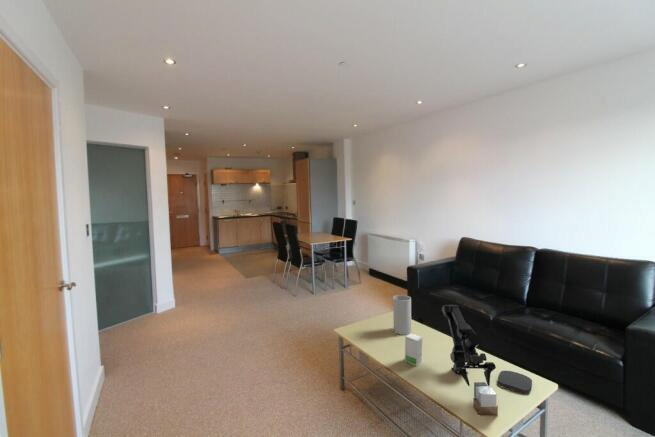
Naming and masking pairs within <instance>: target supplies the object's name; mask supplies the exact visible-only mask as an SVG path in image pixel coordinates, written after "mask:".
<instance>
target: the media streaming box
mask: <svg viewBox="0 0 655 437" xmlns="http://www.w3.org/2000/svg"><path fill="white" fill-rule="evenodd" d="M497 384H498V386H499V387H502V388H504V389H507V390H510V391H513V392H516V393H520V394H524V395H526V394H527V395H528V394H530V393H531V391H532V387H533V380H532V379H531V377H529V376H527V375H525V374H523V373H519V372H515V371H511V370H501V371H500V372H499V374H498V377H497Z"/></svg>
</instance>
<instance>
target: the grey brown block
mask: <svg viewBox="0 0 655 437" xmlns="http://www.w3.org/2000/svg"><path fill="white" fill-rule="evenodd" d="M472 400H473V401H472V404H473V405H472V406H473V407H472V408H473V410H474V411H475V412H476V414H477V416H478V415H480V417H481V416H482V417H485V416H487V417H488V416H489V417H491V416H492V417H498V416H499V415H498V414H499V412H498V411H499V410H498V409H499V406H498V405H497V393H496V392H495V391H494V389H493V388H492V387H491V386H488V385H487V386H476V398H475V397H473V398H472Z"/></svg>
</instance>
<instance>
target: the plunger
mask: <svg viewBox="0 0 655 437" xmlns="http://www.w3.org/2000/svg"><path fill="white" fill-rule="evenodd" d="M476 386H488V385H487V382H486V381H485V382H483V381H482V382H481V381H480V382H479V381H478V382H477V381H476V382H473V396H474V397H473V398H476Z"/></svg>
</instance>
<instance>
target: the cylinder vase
mask: <svg viewBox="0 0 655 437" xmlns="http://www.w3.org/2000/svg"><path fill="white" fill-rule="evenodd" d="M392 298H393V299H392V300H393V301H392V307H393V310H392V311H393V315H392V316H393V332H394V333H395V334H397V335H401V336H403V335H405V336H407V335H408V334H410V333H411V334H412V297H411V296H409V295H405V294H397V295H393V297H392Z"/></svg>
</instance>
